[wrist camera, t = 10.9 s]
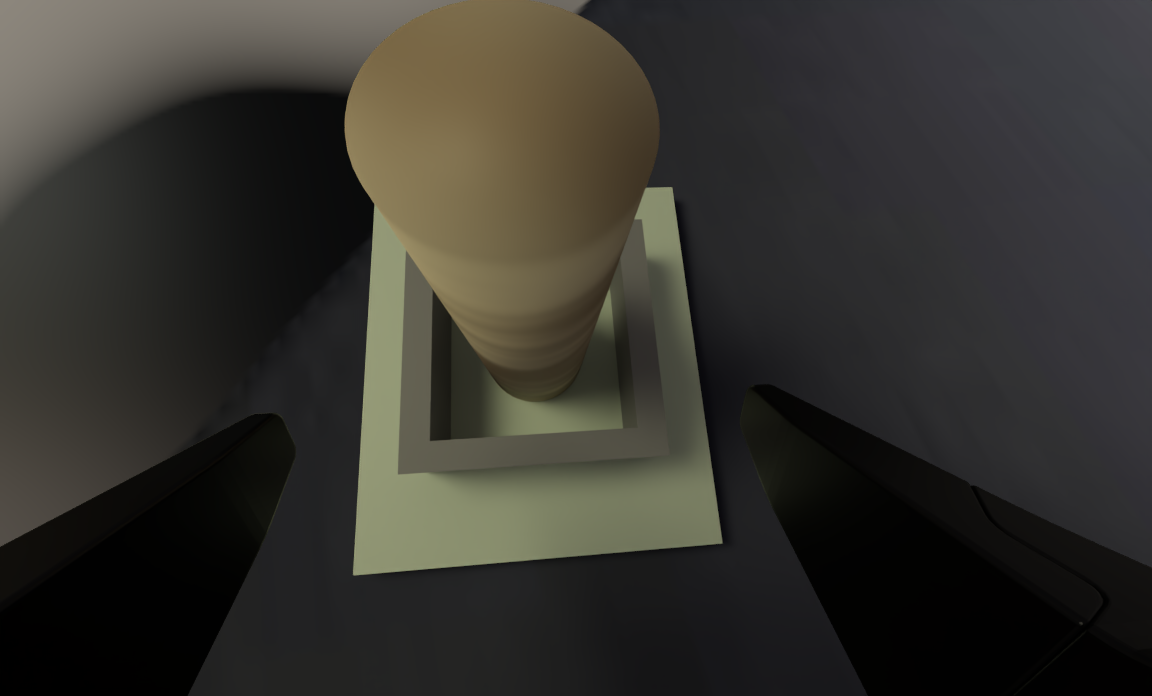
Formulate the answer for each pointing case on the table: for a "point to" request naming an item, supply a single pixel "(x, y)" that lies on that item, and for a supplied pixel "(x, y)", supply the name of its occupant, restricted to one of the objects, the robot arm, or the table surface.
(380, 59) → the plug peg
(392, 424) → the socket board
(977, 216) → the table surface
